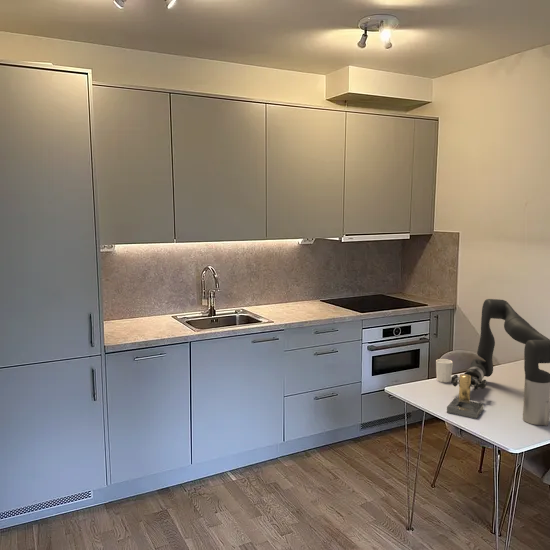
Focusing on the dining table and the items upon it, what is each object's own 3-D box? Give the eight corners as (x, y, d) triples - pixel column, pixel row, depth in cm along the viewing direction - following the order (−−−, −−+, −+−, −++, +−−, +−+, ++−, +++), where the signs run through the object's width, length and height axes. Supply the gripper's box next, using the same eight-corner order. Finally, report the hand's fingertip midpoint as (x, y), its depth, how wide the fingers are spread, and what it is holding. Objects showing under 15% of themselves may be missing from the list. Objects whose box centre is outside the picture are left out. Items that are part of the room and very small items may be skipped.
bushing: (470, 401, 222) (472, 375, 221) (468, 404, 219) (469, 378, 217) (460, 399, 225) (461, 373, 224) (457, 402, 221) (458, 376, 220)
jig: (483, 409, 213) (483, 403, 213) (476, 418, 203) (476, 413, 203) (454, 403, 220) (454, 398, 219) (446, 412, 210) (446, 406, 210)
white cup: (432, 379, 253) (432, 359, 252) (444, 377, 256) (445, 358, 255) (442, 383, 246) (443, 364, 245) (455, 381, 249) (456, 362, 247)
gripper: (458, 366, 237) (448, 374, 224) (490, 371, 229) (482, 380, 216) (457, 381, 238) (447, 391, 225) (489, 387, 230) (481, 397, 217)
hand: (464, 386), depth 220 cm, fingers open, 8 cm apart
